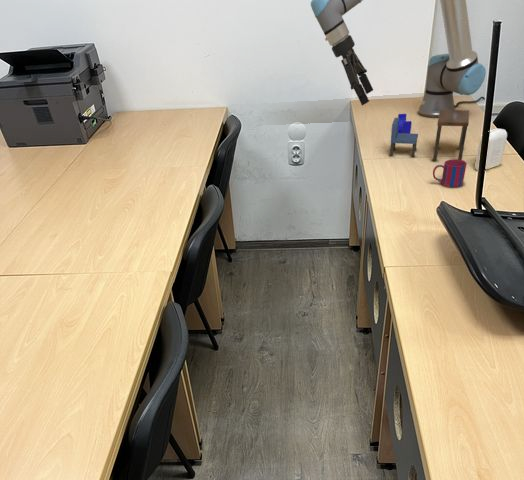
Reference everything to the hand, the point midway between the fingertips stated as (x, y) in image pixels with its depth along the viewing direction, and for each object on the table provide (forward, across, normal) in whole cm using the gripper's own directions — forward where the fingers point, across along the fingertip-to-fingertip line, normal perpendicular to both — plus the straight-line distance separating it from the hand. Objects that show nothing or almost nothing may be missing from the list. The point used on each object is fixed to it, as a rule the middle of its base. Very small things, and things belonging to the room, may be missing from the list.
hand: (367, 97), depth 190 cm
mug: (+30, +32, +18) cm, 48 cm away
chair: (+23, +4, +4) cm, 24 cm away
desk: (+31, +5, +18) cm, 36 cm away
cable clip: (+23, -19, +1) cm, 30 cm away
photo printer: (+37, +16, +29) cm, 50 cm away
